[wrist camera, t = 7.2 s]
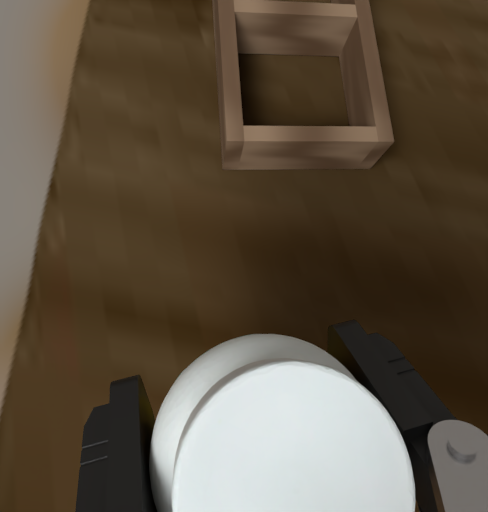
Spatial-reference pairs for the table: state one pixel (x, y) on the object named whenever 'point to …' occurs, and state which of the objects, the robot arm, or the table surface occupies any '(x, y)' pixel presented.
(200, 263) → the table surface
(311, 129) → the compartment tray
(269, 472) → the supplement bottle
